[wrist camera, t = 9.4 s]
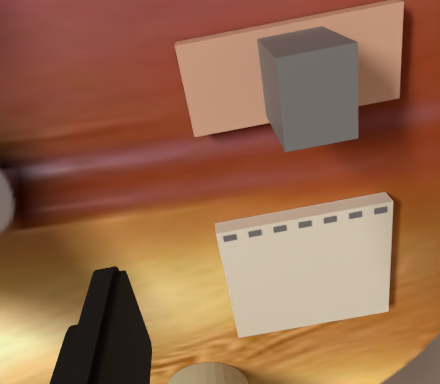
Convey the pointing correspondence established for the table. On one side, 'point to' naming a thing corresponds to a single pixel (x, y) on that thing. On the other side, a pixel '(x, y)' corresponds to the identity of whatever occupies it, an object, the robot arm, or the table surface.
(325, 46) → the stub
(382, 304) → the white notepad
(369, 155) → the table surface
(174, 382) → the reusable coffee cup
